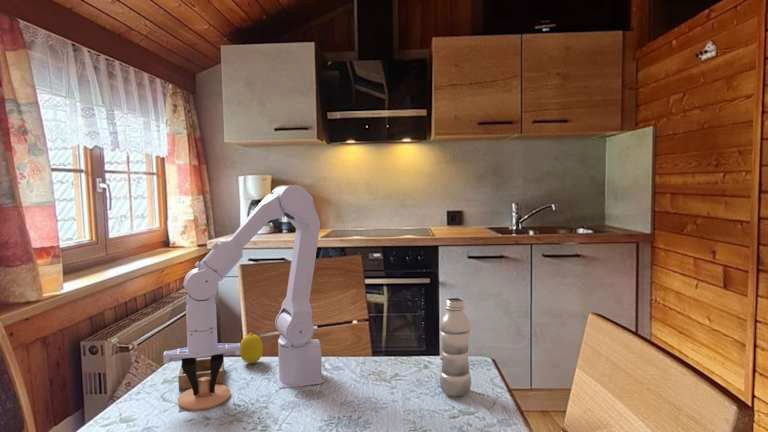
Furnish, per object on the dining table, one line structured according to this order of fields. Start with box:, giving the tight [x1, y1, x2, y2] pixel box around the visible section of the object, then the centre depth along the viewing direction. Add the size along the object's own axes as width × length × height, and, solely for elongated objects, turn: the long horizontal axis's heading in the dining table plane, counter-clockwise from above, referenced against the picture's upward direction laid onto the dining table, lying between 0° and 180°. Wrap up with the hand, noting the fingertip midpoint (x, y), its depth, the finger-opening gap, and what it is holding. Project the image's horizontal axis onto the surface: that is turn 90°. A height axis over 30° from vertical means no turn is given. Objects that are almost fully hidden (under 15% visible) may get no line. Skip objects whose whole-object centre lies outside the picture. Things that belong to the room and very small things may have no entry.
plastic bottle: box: [439, 297, 472, 398], centre depth 96 cm, size 6×7×20 cm
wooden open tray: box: [177, 356, 225, 391], centre depth 104 cm, size 9×9×4 cm
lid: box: [177, 377, 231, 411], centre depth 95 cm, size 10×10×4 cm
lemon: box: [239, 332, 264, 365], centre depth 113 cm, size 6×6×8 cm
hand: (204, 392), depth 95 cm, fingers closed on lid, 3 cm apart
